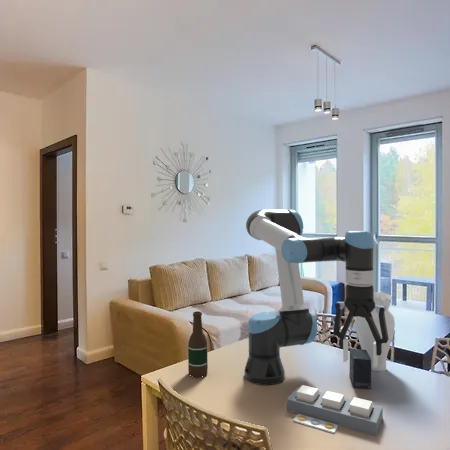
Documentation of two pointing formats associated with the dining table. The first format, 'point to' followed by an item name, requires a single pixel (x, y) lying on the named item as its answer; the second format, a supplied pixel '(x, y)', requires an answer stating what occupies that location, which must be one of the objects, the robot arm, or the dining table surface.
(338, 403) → the button
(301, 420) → the card
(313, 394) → the button
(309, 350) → the dining table surface
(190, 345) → the beer bottle
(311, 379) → the dining table surface
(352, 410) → the button
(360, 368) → the small box
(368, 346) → the vase
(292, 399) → the board
